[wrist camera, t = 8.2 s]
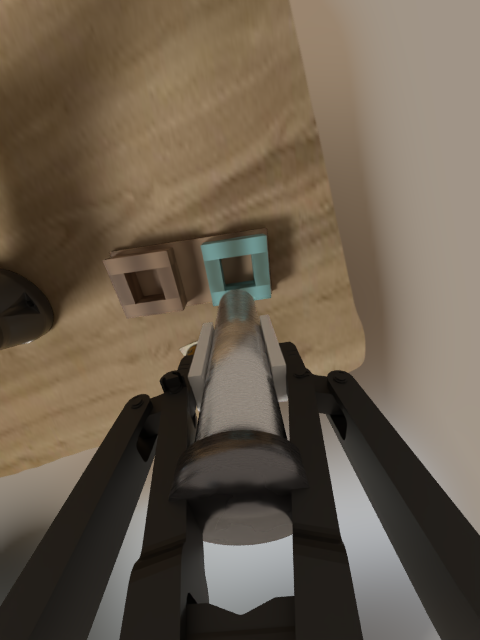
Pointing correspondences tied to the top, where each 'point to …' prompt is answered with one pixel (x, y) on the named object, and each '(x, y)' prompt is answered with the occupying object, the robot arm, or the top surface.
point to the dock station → (190, 272)
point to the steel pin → (239, 439)
